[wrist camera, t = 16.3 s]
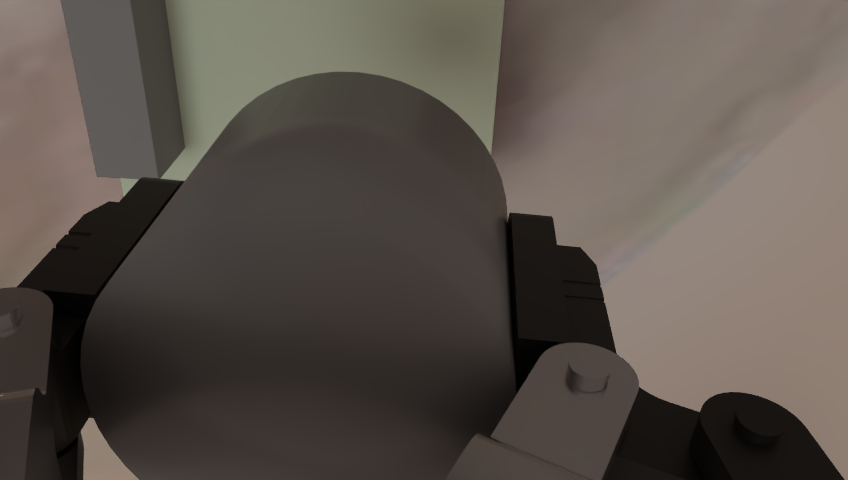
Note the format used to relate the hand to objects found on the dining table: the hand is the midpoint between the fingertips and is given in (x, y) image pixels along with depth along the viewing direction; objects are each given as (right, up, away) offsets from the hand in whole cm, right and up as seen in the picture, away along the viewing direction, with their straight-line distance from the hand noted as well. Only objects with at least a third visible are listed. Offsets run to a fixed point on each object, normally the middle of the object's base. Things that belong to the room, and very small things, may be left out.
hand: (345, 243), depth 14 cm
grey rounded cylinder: (0, 0, +1) cm, 1 cm away
